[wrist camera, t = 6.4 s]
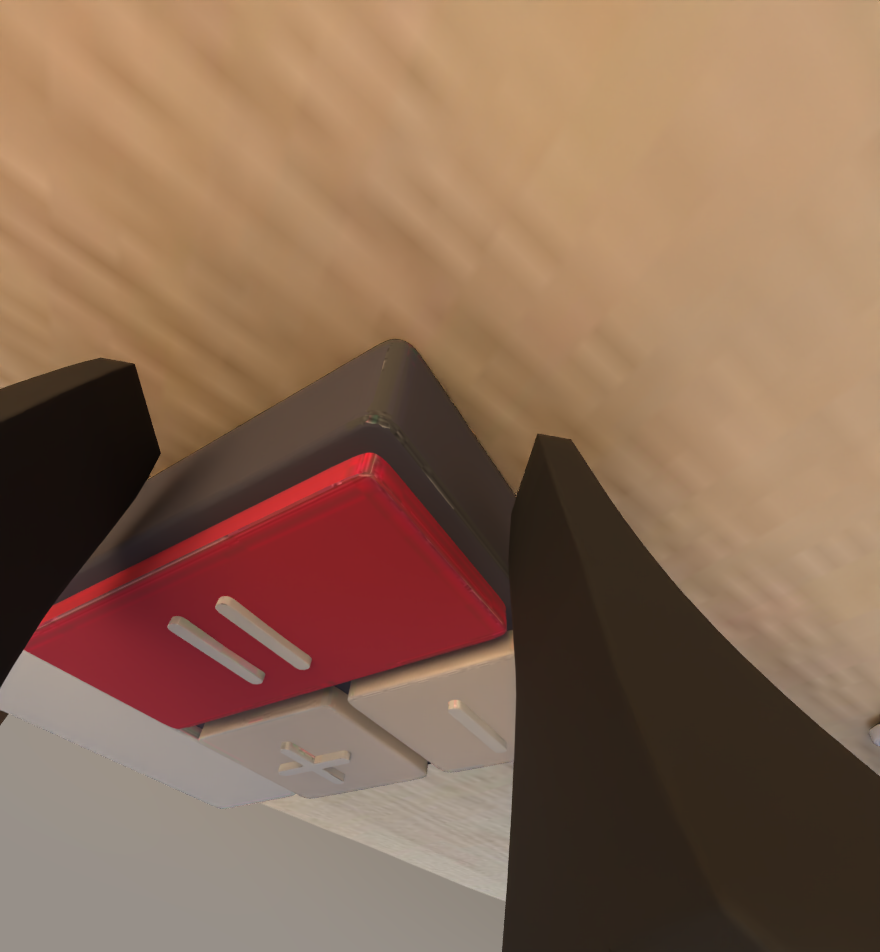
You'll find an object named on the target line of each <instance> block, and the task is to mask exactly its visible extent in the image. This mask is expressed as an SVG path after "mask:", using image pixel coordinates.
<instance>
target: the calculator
mask: <svg viewBox="0 0 880 952" xmlns="http://www.w3.org/2000/svg"><path fill="white" fill-rule="evenodd" d="M515 500H516V496H515V495H514V493H513V492H512V491H511V489H510V488H509V486H508V485H507V483H506V482H505V480H504V479H503V477H502V476H501V474H500V473H499V471H498V470H497V468H496V467H495V465H494V464H493V462H492V461H491V459H490V458H489V456H488V455H487V453H486V452H485V451H484V449H483V448H482V446H481V445H480V443H479V442H478V440H477V439H476V437H475V436H474V434H473V433H472V431H471V430H470V428H469V427H468V425H467V424H466V422H465V421H464V419H463V418H462V416H461V415H460V414H459V412H458V411H457V409H456V408H455V406H454V405H453V403H452V402H451V400H450V399H449V397H448V396H447V394H446V393H445V391H444V390H443V388H442V387H441V385H440V384H439V382H438V381H437V379H436V378H435V376H434V375H433V374H432V372H431V371H430V369H429V368H428V366H427V365H426V363H425V362H424V360H423V359H422V357H421V356H420V355H419V353H418V352H417V351H416V349H415V348H414V347H413V346H412V345H410V344H409V343H407V342H405V341H403V340H397V339H393V340H388V341H385V342H383V343H381V344H379V345H377V346H375V347H374V348H372V349H370V350H369V351H367V352H365V353H363V354H362V355H360V356H358V357H357V358H355V359H353V360H351V361H350V362H348V363H346V364H345V365H343V366H341V367H340V368H338V369H336V370H334V371H333V372H331V373H329V374H328V375H326V376H324V377H322V378H321V379H319V380H317V381H316V382H314V383H312V384H311V385H309V386H307V387H305V388H304V389H302V390H300V391H299V392H297V393H295V394H293V395H292V396H290V397H288V398H287V399H285V400H283V401H282V402H280V403H278V404H276V405H275V406H273V407H271V408H270V409H268V410H266V411H264V412H263V413H261V414H259V415H258V416H256V417H254V418H252V419H251V420H249V421H247V422H246V423H244V424H242V425H241V426H239V427H237V428H235V429H234V430H232V431H230V432H229V433H227V434H225V435H223V436H222V437H220V438H218V439H217V440H215V441H213V442H212V443H210V444H208V445H206V446H205V447H203V448H201V449H200V450H198V451H196V452H194V453H193V454H191V455H189V456H188V457H186V458H184V459H182V460H181V461H179V462H177V463H176V464H174V465H172V466H171V467H169V468H167V469H165V470H164V471H162V472H160V473H159V474H157V475H155V476H153V477H152V478H150V479H148V480H147V481H146V482H145V483H144V485H143V487H142V489H141V490H140V492H139V494H138V495H137V497H136V498H135V500H134V501H133V502H132V504H131V505H130V507H129V508H128V509H127V510H126V512H125V513H124V514H123V516H122V517H121V518H120V520H119V521H118V522H117V523H116V525H115V526H114V527H113V529H112V530H111V531H110V533H109V534H108V535H107V536H106V538H105V539H104V540H103V541H102V543H101V544H100V545H99V546H98V548H97V549H96V550H95V551H94V553H93V554H92V555H91V557H90V558H89V559H88V560H87V562H86V563H85V564H84V565H83V567H82V568H81V569H80V570H79V572H78V573H77V574H76V576H75V577H74V578H73V579H72V581H71V582H70V583H69V584H68V586H67V587H66V588H65V590H64V591H63V592H62V593H61V595H60V596H59V597H58V599H57V600H56V601H55V603H54V604H53V606H52V607H51V608H50V610H49V611H48V613H47V614H46V615H45V617H44V618H43V620H42V621H41V623H40V624H39V626H38V627H37V629H36V631H35V632H34V634H33V635H32V637H31V639H30V640H29V642H28V643H27V645H26V647H25V648H24V650H23V651H22V653H21V655H20V656H19V658H18V659H17V661H16V663H15V664H14V666H13V667H12V669H11V671H10V672H9V674H8V676H7V677H6V679H5V681H4V683H3V684H2V686H1V688H0V710H1V711H4V712H6V713H8V714H10V715H13V716H15V717H17V718H19V719H21V720H24V721H26V722H28V723H30V724H32V725H35V726H37V727H39V728H41V729H43V730H46V731H48V732H50V733H52V734H55V735H57V736H59V737H61V738H63V739H66V740H68V741H70V742H72V743H74V744H77V745H79V746H81V747H83V748H86V749H88V750H90V751H92V752H94V753H97V754H99V755H101V756H103V757H105V758H108V759H110V760H112V761H114V762H116V763H119V764H121V765H123V766H125V767H128V768H130V769H132V770H134V771H136V772H139V773H141V774H143V775H145V776H147V777H150V778H152V779H154V780H156V781H159V782H161V783H163V784H165V785H167V786H170V787H172V788H174V789H176V790H178V791H181V792H183V793H185V794H187V795H190V796H192V797H194V798H196V799H198V800H201V801H203V802H205V803H207V804H209V805H212V806H214V807H217V808H220V809H227V808H233V807H238V806H243V805H248V804H253V803H259V802H264V801H269V800H274V799H280V798H285V797H290V796H293V795H295V794H297V795H299V796H302V797H304V798H309V799H311V798H319V797H324V796H330V795H335V794H341V793H346V792H351V791H357V790H362V789H368V788H373V787H378V786H384V785H389V784H395V783H400V782H405V781H411V780H416V779H420V778H424V777H426V775H427V766H428V764H433V765H434V766H436V767H437V768H439V769H440V770H442V771H444V772H459V771H465V770H470V769H475V768H481V767H486V766H492V765H497V764H502V763H508V762H513V761H514V745H515V714H516V674H515V657H514V642H513V627H512V612H511V597H510V581H509V563H508V557H509V538H510V523H511V512H512V509H513V506H514V503H515Z"/></svg>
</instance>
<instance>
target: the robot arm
mask: <svg viewBox="0 0 880 952" xmlns="http://www.w3.org/2000/svg"><path fill="white" fill-rule="evenodd" d="M160 454H161V452H160V449H159V445H158V442H157V439H156V435H155V432H154V428H153V425H152V422H151V418H150V415H149V411H148V408H147V405H146V401H145V398H144V394H143V391H142V387H141V384H140V381H139V377H138V374H137V370H136V367H135V364H133V363H127V362H121V361H115V360H110V359H104V358H98V359H94V360H90V361H85V362H82V363H78V364H74V365H71V366H68V367H64V368H61V369H58V370H55V371H52V372H49V373H46V374H43V375H40V376H37V377H34V378H31V379H28V380H25V381H22V382H19V383H16V384H13V385H10V386H7V387H5V388H2V389H0V688H1V686H2V684H3V683H4V681H5V679H6V677H7V676H8V674H9V672H10V671H11V669H12V667H13V666H14V664H15V663H16V661H17V659H18V658H19V656H20V655H21V653H22V651H23V650H24V648H25V647H26V645H27V643H28V642H29V640H30V639H31V637H32V635H33V634H34V632H35V631H36V629H37V627H38V626H39V624H40V623H41V621H42V620H43V618H44V617H45V615H46V614H47V613H48V611H49V610H50V608H51V607H52V606H53V604H54V603H55V601H56V600H57V599H58V597H59V596H60V595H61V593H62V592H63V591H64V590H65V588H66V587H67V586H68V584H69V583H70V582H71V581H72V579H73V578H74V577H75V576H76V574H77V573H78V572H79V570H80V569H81V568H82V567H83V565H84V564H85V563H86V562H87V560H88V559H89V558H90V557H91V555H92V554H93V553H94V551H95V550H96V549H97V548H98V546H99V545H100V544H101V543H102V541H103V540H104V539H105V538H106V536H107V535H108V534H109V533H110V531H111V530H112V529H113V527H114V526H115V525H116V523H117V522H118V521H119V520H120V518H121V517H122V516H123V514H124V513H125V512H126V510H127V509H128V508H129V507H130V505H131V504H132V502H133V501H134V500H135V498H136V497H137V495H138V494H139V492H140V490H141V489H142V487H143V485H144V483H145V482H146V480H147V478H148V477H149V475H150V473H151V471H152V469H153V467H154V465H155V463H156V461H157V460H158V458H159V456H160ZM508 563H509V581H510V597H511V612H512V627H513V642H514V657H515V674H516V714H515V745H514V769H513V791H512V813H511V829H510V846H509V863H508V879H507V893H506V907H505V920H504V933H503V946H502V952H880V776H879V775H877V774H876V773H875V772H874V771H873V770H871V769H870V768H869V767H868V766H867V765H865V764H864V763H863V762H862V761H861V760H859V759H858V758H857V757H856V756H855V755H853V754H852V753H851V752H850V751H849V750H847V749H846V748H845V747H844V746H843V745H842V744H840V743H839V742H838V741H837V740H836V739H834V738H833V737H832V736H831V735H830V734H828V733H827V732H826V731H825V730H824V729H822V728H821V727H820V726H819V725H818V724H817V723H816V722H814V721H813V720H812V719H811V718H810V717H809V716H808V715H807V714H805V713H804V712H803V711H802V710H801V709H800V708H799V707H798V706H796V705H795V704H794V703H793V702H792V701H791V700H790V699H788V698H787V697H786V696H785V695H784V694H783V693H782V692H781V691H780V690H779V689H778V688H777V687H776V686H774V685H773V684H772V683H771V682H770V681H769V680H768V679H767V678H766V677H765V676H764V675H763V674H762V673H761V672H760V671H759V670H758V669H756V668H755V667H754V666H753V665H752V664H751V663H750V662H749V661H748V660H747V659H746V658H745V657H744V656H743V655H742V654H741V653H740V652H739V651H738V650H737V649H736V648H735V647H734V646H733V645H732V644H731V643H730V642H729V641H728V640H727V639H726V638H725V637H724V636H723V635H722V634H721V633H720V632H719V631H718V630H717V629H716V628H715V627H714V626H713V625H712V624H711V623H710V622H709V621H708V619H707V618H706V617H705V616H704V615H703V614H702V613H701V612H700V611H699V610H698V609H697V608H696V607H695V605H694V604H693V603H692V602H691V601H690V600H689V599H688V598H687V597H686V596H685V595H684V594H683V592H682V591H681V590H680V589H679V588H678V587H677V585H676V584H675V583H674V582H673V581H672V580H671V579H670V577H669V576H668V575H667V574H666V572H665V571H664V570H663V569H662V567H661V566H660V565H659V564H658V563H657V561H656V560H655V559H654V558H653V556H652V555H651V554H650V553H649V551H648V550H647V549H646V548H645V546H644V545H643V544H642V542H641V541H640V540H639V538H638V537H637V536H636V534H635V533H634V532H633V530H632V529H631V528H630V526H629V525H628V524H627V522H626V521H625V520H624V518H623V517H622V515H621V514H620V512H619V511H618V510H617V508H616V507H615V505H614V504H613V503H612V501H611V500H610V498H609V497H608V495H607V494H606V492H605V491H604V489H603V488H602V486H601V485H600V483H599V482H598V480H597V479H596V477H595V476H594V474H593V473H592V471H591V469H590V468H589V466H588V465H587V463H586V462H585V460H584V459H583V457H582V455H581V454H580V452H579V451H578V449H577V448H576V446H575V445H574V443H573V442H572V440H571V439H565V438H559V437H554V436H548V435H542V434H537V437H536V440H535V443H534V446H533V449H532V452H531V455H530V458H529V461H528V464H527V467H526V470H525V473H524V476H523V479H522V482H521V485H520V488H519V491H518V494H517V497H516V500H515V503H514V506H513V509H512V512H511V523H510V538H509V557H508ZM869 735H870V737H871V739H872V741H873V743H874V744H876V745H877V746H880V723H879V724H878V725H876V726H874V727H872V728H871V729H870V730H869Z"/></svg>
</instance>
